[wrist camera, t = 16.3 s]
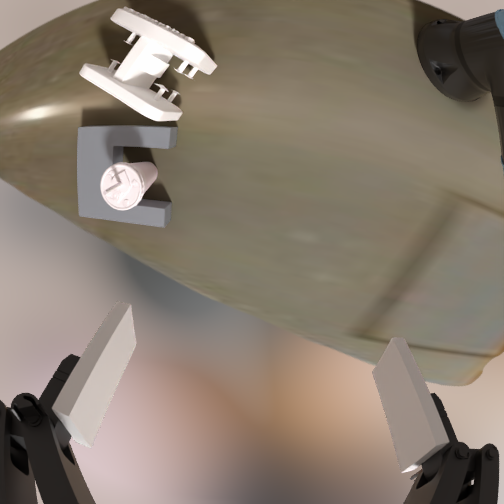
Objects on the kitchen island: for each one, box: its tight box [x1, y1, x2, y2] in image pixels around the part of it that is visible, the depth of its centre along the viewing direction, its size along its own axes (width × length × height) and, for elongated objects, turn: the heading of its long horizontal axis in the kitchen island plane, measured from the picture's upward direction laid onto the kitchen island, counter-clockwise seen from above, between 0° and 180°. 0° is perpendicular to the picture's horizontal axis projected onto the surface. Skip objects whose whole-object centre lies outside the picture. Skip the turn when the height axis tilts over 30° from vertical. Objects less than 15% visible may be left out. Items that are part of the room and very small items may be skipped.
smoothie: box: [100, 162, 158, 210], centre depth 36 cm, size 6×6×14 cm
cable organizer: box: [79, 7, 217, 121], centre depth 30 cm, size 15×11×12 cm
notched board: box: [77, 125, 178, 228], centre depth 40 cm, size 16×15×4 cm
